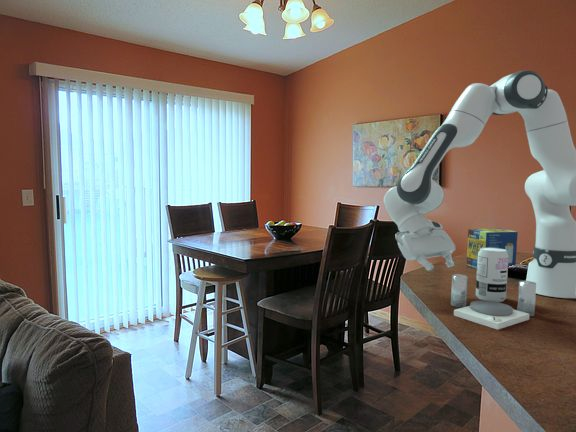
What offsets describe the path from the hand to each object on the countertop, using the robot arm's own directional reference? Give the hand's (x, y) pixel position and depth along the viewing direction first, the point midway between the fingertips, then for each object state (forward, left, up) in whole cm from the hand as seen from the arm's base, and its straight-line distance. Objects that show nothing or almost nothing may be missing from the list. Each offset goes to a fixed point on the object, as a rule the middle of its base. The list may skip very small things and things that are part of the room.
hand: (441, 267), depth 122 cm
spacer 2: (-9, +20, -10) cm, 24 cm away
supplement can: (-14, +7, -10) cm, 19 cm away
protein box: (-56, -19, -10) cm, 60 cm away
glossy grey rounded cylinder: (0, +6, -10) cm, 11 cm away
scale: (+2, +17, -10) cm, 20 cm away
